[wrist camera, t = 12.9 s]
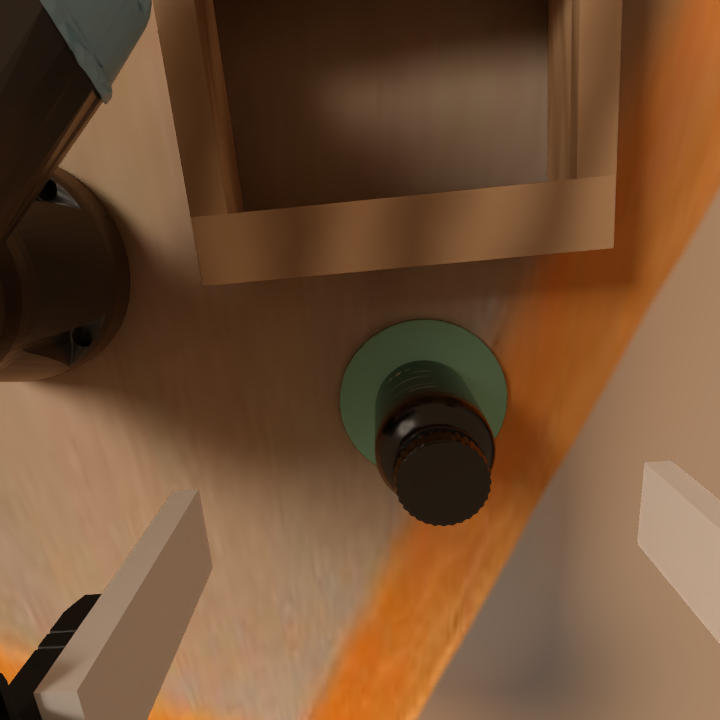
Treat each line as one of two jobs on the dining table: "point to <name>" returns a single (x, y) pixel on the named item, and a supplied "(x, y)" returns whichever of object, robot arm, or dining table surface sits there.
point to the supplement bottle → (433, 443)
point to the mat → (413, 345)
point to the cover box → (405, 213)
